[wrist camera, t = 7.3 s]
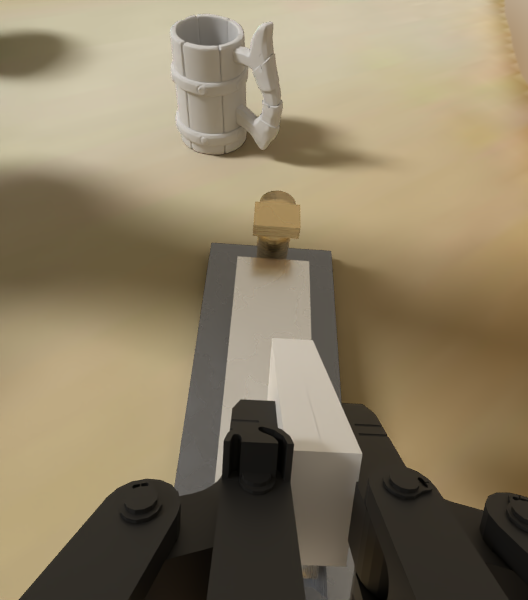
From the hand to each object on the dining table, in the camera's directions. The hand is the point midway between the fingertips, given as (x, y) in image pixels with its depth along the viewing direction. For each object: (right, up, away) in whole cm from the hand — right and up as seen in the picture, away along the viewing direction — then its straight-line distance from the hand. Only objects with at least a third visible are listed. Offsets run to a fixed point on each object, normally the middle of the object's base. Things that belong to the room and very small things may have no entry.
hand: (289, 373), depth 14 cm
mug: (-5, +20, +26) cm, 33 cm away
